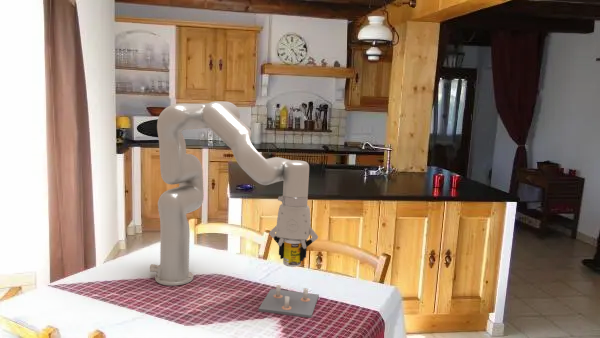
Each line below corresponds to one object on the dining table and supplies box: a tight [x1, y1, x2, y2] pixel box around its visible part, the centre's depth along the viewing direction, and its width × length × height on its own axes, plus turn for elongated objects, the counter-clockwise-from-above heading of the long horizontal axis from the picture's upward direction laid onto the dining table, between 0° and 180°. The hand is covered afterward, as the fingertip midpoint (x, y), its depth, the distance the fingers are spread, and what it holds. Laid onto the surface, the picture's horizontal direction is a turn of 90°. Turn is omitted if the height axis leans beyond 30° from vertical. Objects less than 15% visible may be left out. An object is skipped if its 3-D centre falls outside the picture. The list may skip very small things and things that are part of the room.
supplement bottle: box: [282, 239, 302, 268], centre depth 153 cm, size 6×6×10 cm
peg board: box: [258, 284, 320, 319], centre depth 155 cm, size 16×16×4 cm
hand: (292, 258), depth 153 cm, fingers closed on supplement bottle, 5 cm apart
